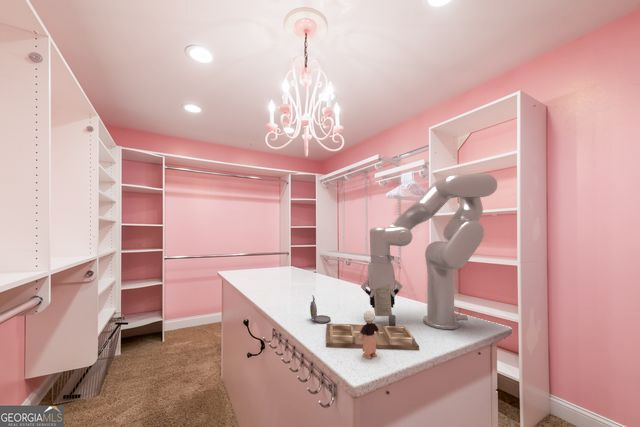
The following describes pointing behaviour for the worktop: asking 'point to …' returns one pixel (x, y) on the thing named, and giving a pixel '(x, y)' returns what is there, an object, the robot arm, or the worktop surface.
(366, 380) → the worktop surface
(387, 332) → the board
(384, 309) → the skincare box
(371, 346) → the grandmother figurine
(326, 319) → the pocket watch
